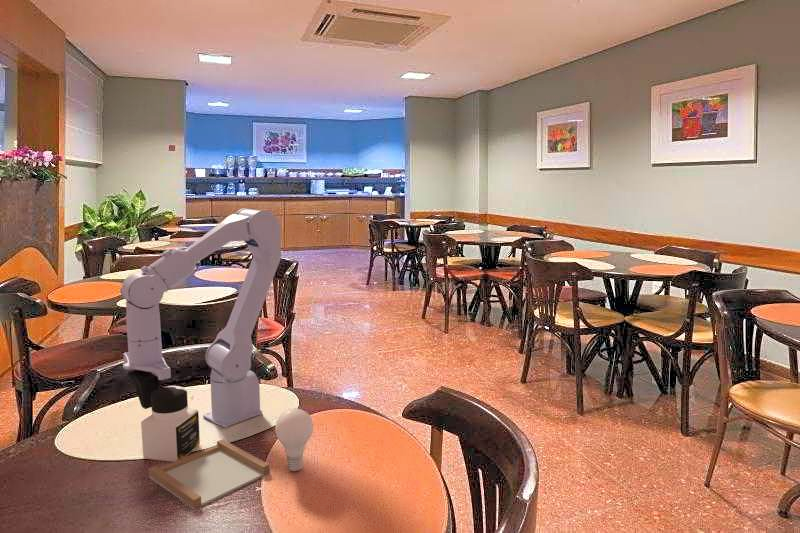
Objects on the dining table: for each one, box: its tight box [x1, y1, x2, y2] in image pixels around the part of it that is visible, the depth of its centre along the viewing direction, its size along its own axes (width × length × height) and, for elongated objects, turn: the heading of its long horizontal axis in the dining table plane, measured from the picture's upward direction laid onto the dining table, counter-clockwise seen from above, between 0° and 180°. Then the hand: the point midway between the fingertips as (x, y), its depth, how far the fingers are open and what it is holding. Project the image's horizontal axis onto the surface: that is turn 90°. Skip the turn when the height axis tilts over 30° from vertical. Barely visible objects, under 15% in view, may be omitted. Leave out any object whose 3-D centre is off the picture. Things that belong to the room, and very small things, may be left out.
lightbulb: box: [274, 407, 314, 472], centre depth 95 cm, size 6×6×11 cm
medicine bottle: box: [140, 385, 201, 463], centre depth 101 cm, size 7×7×12 cm
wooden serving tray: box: [148, 439, 271, 510], centre depth 94 cm, size 14×14×2 cm
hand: (148, 406), depth 106 cm, fingers closed
